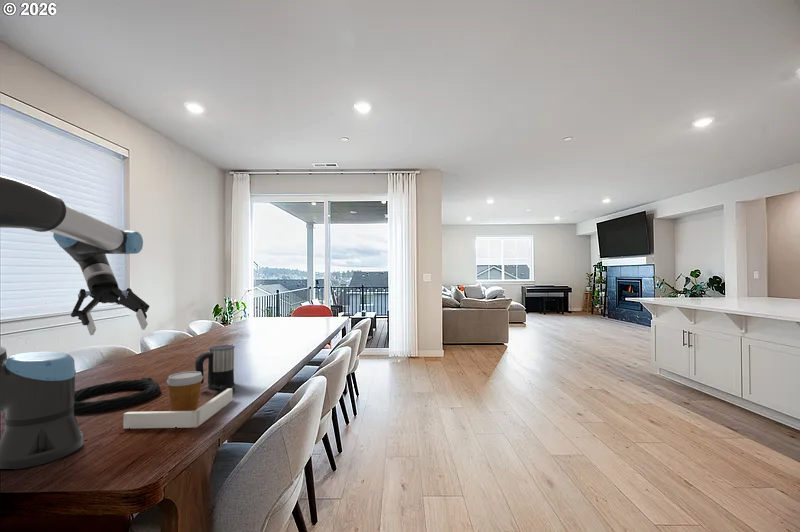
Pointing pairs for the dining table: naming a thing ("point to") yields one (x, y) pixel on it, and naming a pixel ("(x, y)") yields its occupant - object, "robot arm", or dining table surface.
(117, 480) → the dining table surface
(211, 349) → the milk frother
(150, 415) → the bracket
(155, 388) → the cable lock
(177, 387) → the disposable coffee cup
